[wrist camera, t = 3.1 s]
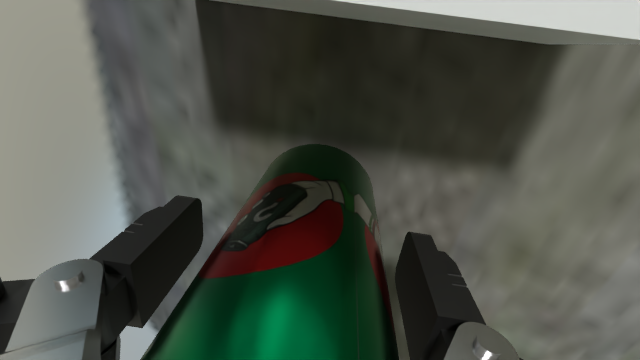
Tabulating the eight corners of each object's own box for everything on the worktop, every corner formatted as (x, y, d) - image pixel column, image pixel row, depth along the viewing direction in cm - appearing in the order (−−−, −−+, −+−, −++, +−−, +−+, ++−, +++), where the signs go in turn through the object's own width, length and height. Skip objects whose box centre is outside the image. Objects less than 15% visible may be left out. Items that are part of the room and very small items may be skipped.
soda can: (245, 196, 14) (-82, 668, 3) (307, 115, 12) (9, 606, 2) (326, 253, 15) (268, 762, 4) (395, 186, 13) (590, 793, 3)
